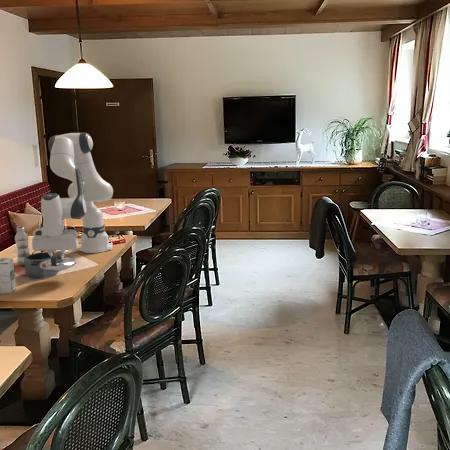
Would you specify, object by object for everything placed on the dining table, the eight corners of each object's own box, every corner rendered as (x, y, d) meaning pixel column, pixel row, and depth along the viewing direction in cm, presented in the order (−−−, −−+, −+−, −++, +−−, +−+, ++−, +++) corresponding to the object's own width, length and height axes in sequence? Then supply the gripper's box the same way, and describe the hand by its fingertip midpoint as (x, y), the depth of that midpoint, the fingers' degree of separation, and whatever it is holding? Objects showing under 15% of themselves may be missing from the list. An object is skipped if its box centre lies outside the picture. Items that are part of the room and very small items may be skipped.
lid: (47, 262, 241) (45, 249, 240) (79, 261, 241) (78, 248, 239) (35, 273, 226) (33, 259, 224) (70, 272, 226) (68, 258, 224)
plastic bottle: (27, 267, 259) (22, 228, 255) (15, 266, 261) (10, 228, 256) (34, 263, 265) (30, 226, 261) (22, 262, 267) (18, 225, 262)
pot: (35, 268, 257) (34, 250, 255) (63, 267, 257) (62, 250, 255) (20, 281, 237) (17, 262, 235) (50, 280, 237) (48, 261, 235)
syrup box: (3, 289, 226) (-1, 258, 223) (16, 288, 227) (12, 257, 224) (-2, 293, 221) (-6, 261, 218) (12, 293, 221) (8, 261, 218)
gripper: (79, 227, 232) (81, 256, 235) (34, 228, 232) (37, 257, 236) (75, 231, 226) (78, 260, 229) (29, 232, 226) (32, 262, 229)
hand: (57, 259), depth 232 cm, fingers closed on lid, 2 cm apart
